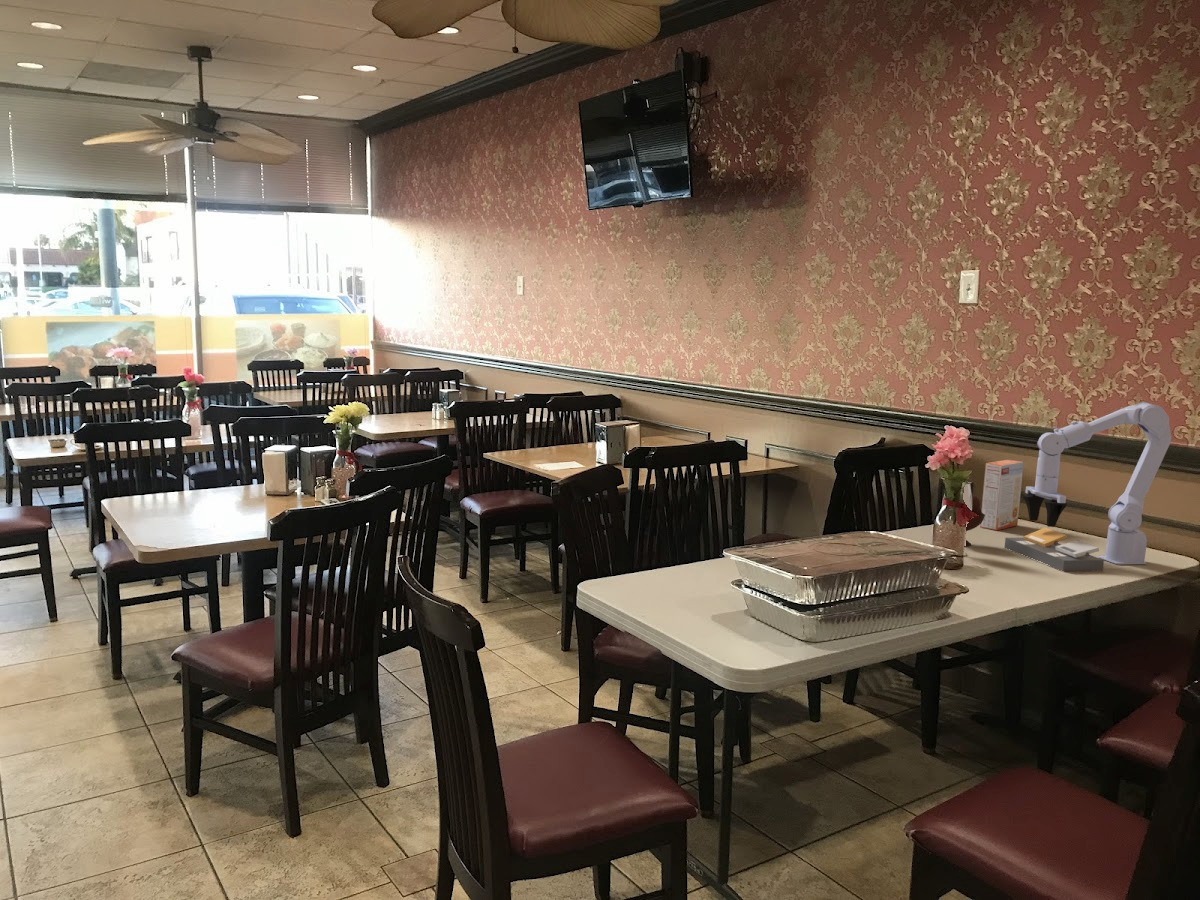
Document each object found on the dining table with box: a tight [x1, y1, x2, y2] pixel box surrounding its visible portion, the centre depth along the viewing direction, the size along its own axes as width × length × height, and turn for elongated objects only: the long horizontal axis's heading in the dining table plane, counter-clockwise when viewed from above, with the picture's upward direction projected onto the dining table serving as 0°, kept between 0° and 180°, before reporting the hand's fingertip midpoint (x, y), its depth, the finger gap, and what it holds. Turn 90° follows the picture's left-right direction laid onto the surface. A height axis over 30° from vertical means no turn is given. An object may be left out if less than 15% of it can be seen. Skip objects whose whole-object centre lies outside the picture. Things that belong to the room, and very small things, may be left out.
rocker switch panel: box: [1003, 537, 1105, 572], centre depth 263 cm, size 16×25×3 cm, turn 12°
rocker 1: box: [1023, 527, 1068, 547], centre depth 268 cm, size 7×9×2 cm
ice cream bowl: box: [966, 493, 985, 547], centre depth 275 cm, size 11×11×15 cm
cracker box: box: [979, 459, 1024, 531], centre depth 301 cm, size 14×6×21 cm, turn 130°
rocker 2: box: [1055, 540, 1100, 558], centre depth 256 cm, size 7×8×2 cm
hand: (1042, 523), depth 268 cm, fingers open, 7 cm apart
